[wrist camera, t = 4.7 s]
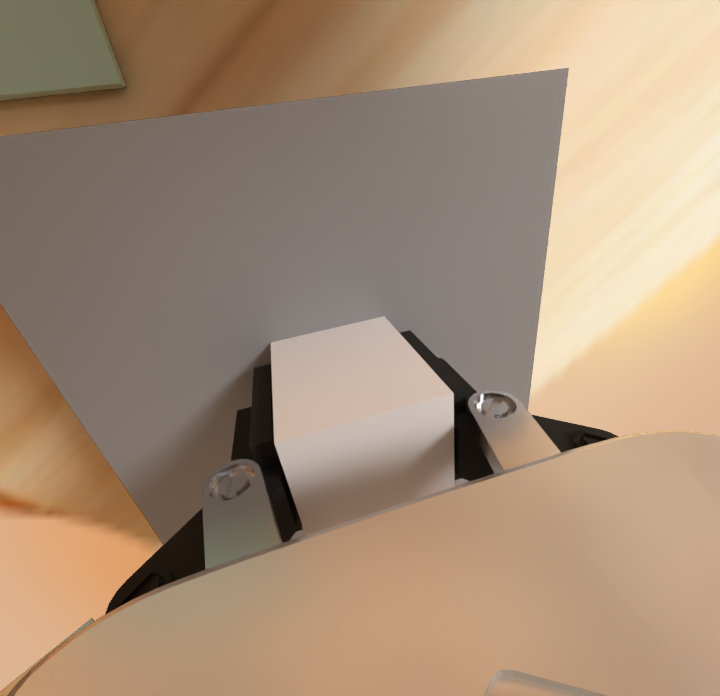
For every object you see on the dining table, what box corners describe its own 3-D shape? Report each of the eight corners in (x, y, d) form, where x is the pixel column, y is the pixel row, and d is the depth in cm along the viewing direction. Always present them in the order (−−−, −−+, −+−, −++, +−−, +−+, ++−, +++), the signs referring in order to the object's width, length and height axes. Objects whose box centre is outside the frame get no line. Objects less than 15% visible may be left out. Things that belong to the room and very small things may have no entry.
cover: (489, 98, 13) (807, -24, 6) (478, 423, 21) (603, 565, 13) (15, 160, 11) (-663, 97, 3) (202, 506, 19) (156, 741, 11)
